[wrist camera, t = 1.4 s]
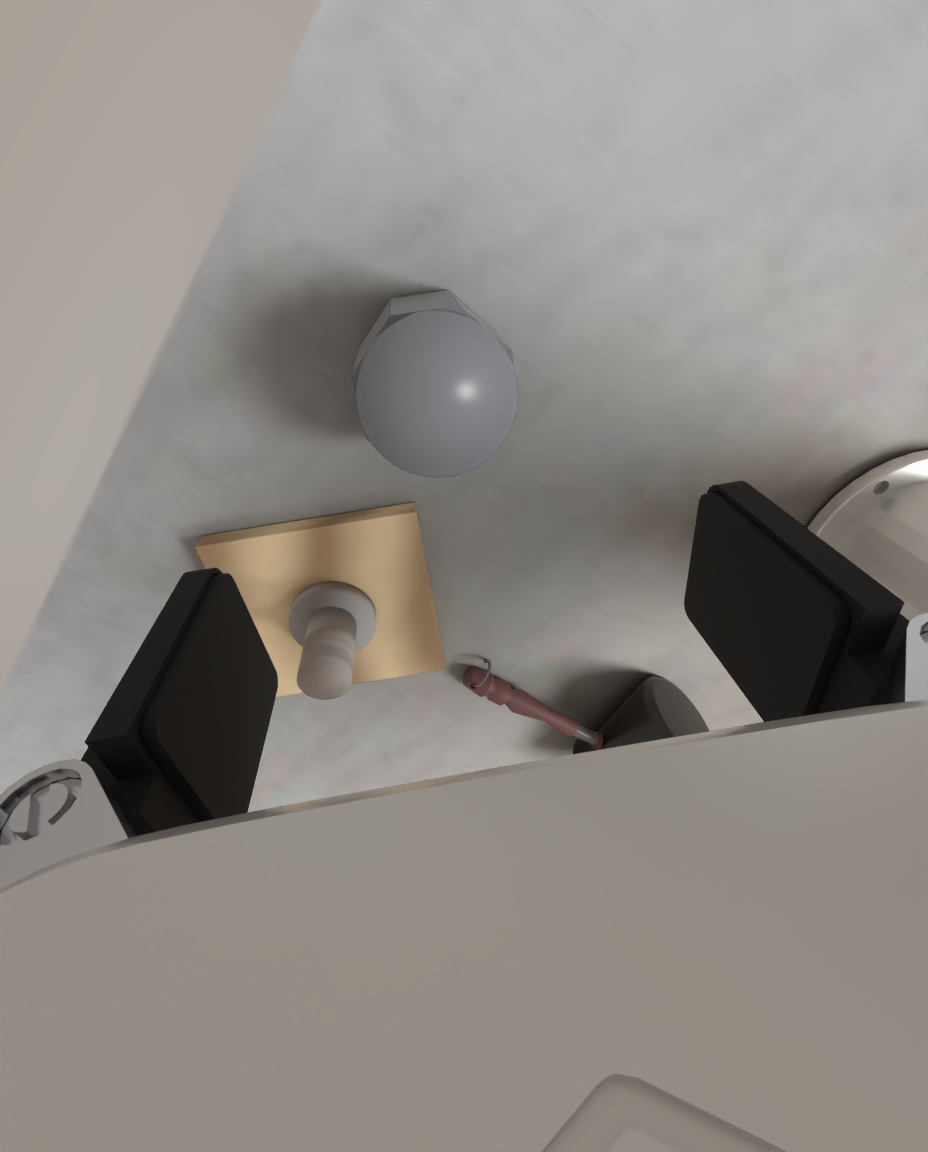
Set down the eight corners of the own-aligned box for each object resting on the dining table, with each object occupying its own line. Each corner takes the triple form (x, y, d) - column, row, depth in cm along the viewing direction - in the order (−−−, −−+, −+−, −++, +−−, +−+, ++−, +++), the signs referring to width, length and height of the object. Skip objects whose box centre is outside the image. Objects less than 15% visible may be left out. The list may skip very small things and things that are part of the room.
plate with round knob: (414, 502, 30) (419, 567, 24) (444, 656, 36) (453, 735, 31) (201, 536, 29) (157, 610, 24) (272, 685, 36) (250, 769, 31)
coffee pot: (703, 703, 42) (620, 748, 46) (539, 579, 36) (462, 644, 41) (733, 790, 36) (634, 832, 40) (542, 658, 30) (451, 724, 35)
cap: (489, 283, 24) (512, 300, 19) (500, 421, 27) (522, 464, 23) (348, 304, 24) (337, 326, 19) (379, 440, 27) (375, 488, 23)
